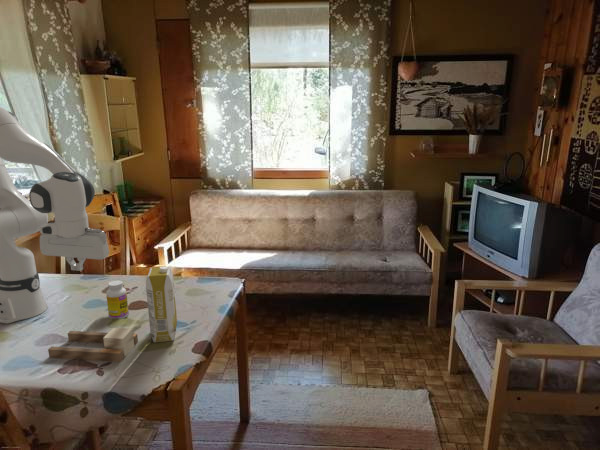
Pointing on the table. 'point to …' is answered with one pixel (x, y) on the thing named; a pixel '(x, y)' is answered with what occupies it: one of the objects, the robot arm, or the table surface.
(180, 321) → the table surface
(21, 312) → the robot arm
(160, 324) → the juice carton
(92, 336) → the chute
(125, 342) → the block
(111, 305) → the supplement bottle
